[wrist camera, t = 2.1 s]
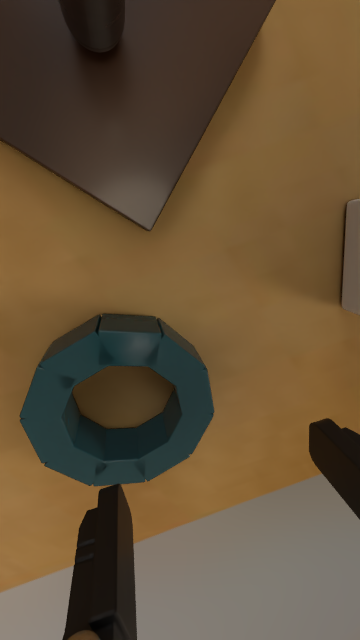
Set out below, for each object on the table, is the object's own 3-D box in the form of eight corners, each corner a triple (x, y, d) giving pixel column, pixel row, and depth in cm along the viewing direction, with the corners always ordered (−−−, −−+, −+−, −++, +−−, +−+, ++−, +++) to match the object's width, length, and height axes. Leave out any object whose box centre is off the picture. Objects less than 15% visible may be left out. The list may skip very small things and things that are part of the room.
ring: (230, 354, 18) (248, 375, 16) (154, 467, 20) (158, 502, 18) (83, 279, 15) (75, 291, 12) (9, 426, 17) (-12, 462, 14)
